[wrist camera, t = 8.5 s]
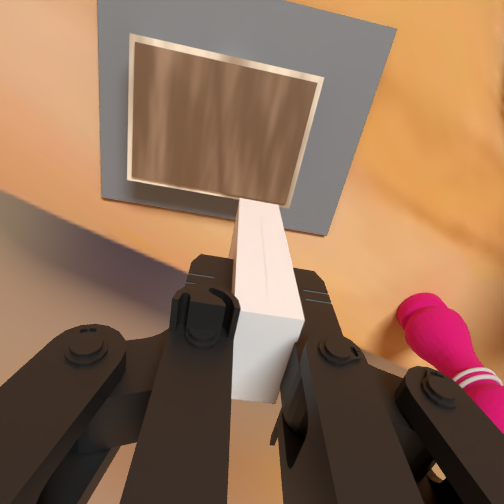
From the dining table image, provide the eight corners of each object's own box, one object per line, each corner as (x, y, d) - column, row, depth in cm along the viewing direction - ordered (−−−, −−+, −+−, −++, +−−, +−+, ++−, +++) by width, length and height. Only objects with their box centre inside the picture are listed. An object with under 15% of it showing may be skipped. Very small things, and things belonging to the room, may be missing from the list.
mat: (395, 29, 30) (397, 28, 30) (325, 233, 40) (326, 235, 40) (98, -46, 27) (96, -47, 27) (103, 195, 37) (101, 197, 37)
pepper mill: (408, 284, 44) (515, 426, 27) (456, 294, 46) (588, 438, 28) (384, 324, 48) (465, 474, 30) (429, 333, 49) (532, 483, 31)
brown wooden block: (325, 77, 28) (128, 32, 26) (289, 209, 34) (126, 180, 32) (315, 75, 32) (142, 36, 30) (284, 195, 37) (138, 168, 35)
